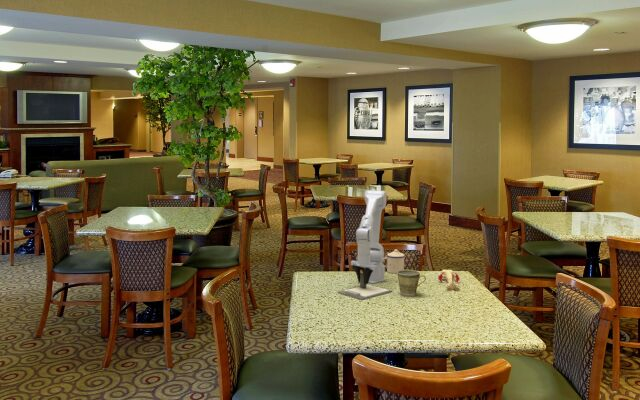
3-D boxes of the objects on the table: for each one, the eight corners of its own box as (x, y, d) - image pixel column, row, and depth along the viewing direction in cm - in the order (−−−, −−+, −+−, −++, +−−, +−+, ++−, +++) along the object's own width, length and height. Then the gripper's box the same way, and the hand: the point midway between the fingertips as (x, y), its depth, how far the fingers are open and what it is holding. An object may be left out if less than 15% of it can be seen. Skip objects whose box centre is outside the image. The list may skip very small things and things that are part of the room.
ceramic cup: (393, 295, 266) (394, 273, 265) (401, 290, 275) (401, 268, 273) (421, 299, 260) (422, 276, 259) (428, 293, 269) (429, 272, 267)
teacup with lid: (404, 270, 314) (405, 248, 312) (404, 274, 305) (404, 251, 303) (381, 269, 316) (381, 247, 314) (380, 273, 307) (380, 250, 305)
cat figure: (463, 294, 274) (456, 276, 298) (464, 276, 272) (456, 259, 297) (441, 293, 275) (436, 276, 299) (442, 275, 273) (436, 259, 297)
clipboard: (368, 285, 282) (368, 282, 282) (392, 291, 271) (392, 288, 271) (337, 293, 269) (337, 289, 269) (361, 300, 258) (362, 296, 258)
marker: (363, 286, 277) (363, 269, 276) (367, 287, 275) (368, 270, 274) (358, 287, 275) (358, 270, 274) (363, 288, 273) (363, 271, 272)
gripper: (346, 252, 276) (346, 281, 277) (369, 257, 265) (369, 287, 267) (357, 250, 281) (356, 278, 282) (380, 255, 270) (379, 284, 272)
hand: (363, 283), depth 275 cm, fingers closed on marker, 3 cm apart
